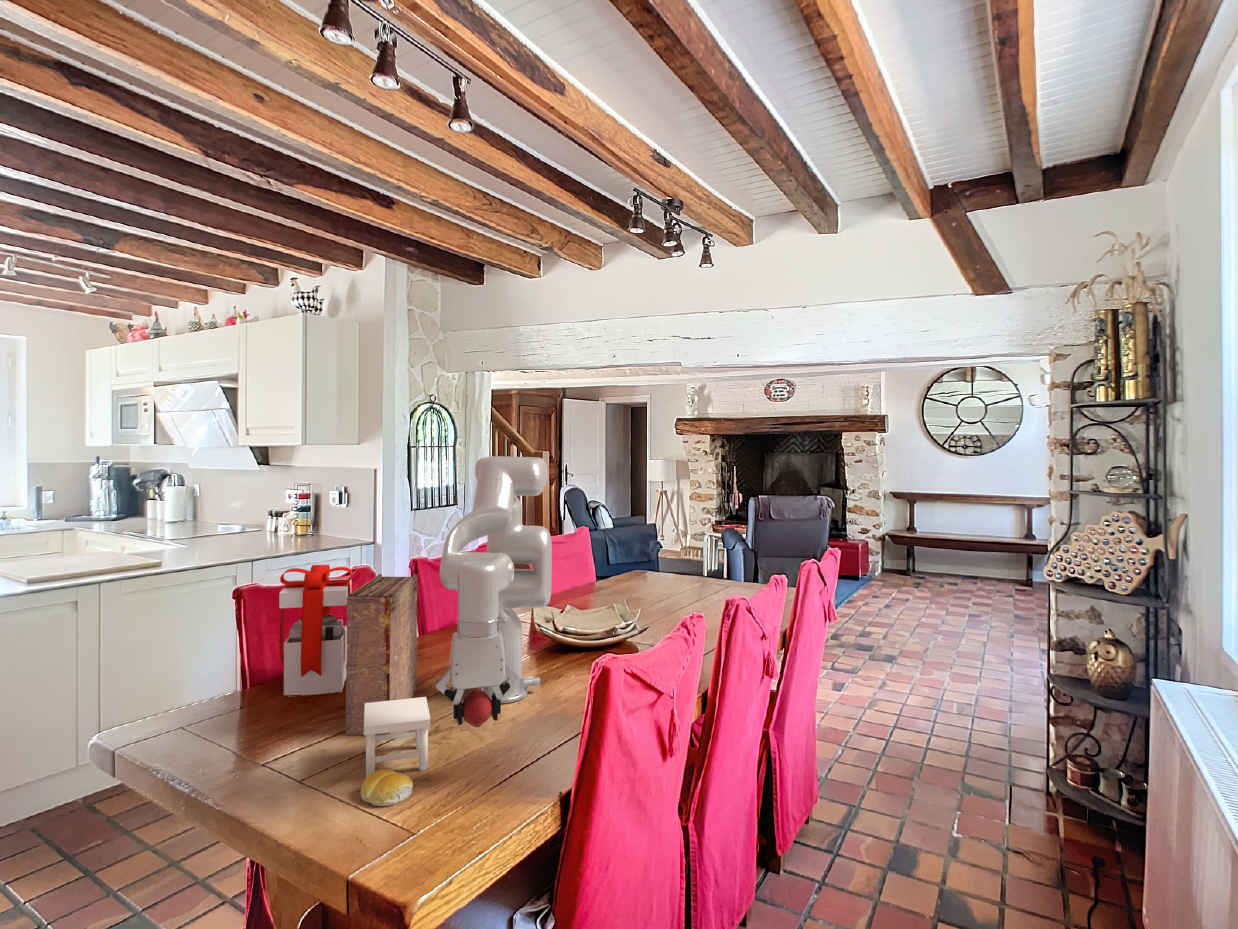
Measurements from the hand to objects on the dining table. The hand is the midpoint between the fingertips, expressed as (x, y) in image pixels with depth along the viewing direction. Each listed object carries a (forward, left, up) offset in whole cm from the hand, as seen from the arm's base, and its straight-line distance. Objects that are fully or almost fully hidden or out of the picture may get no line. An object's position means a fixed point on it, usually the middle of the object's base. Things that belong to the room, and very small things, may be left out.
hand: (477, 719), depth 130 cm
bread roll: (+16, +2, -11) cm, 20 cm away
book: (+16, -36, -11) cm, 41 cm away
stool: (+14, -10, -11) cm, 21 cm away
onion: (0, 0, -2) cm, 2 cm away
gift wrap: (+32, -59, -11) cm, 68 cm away
